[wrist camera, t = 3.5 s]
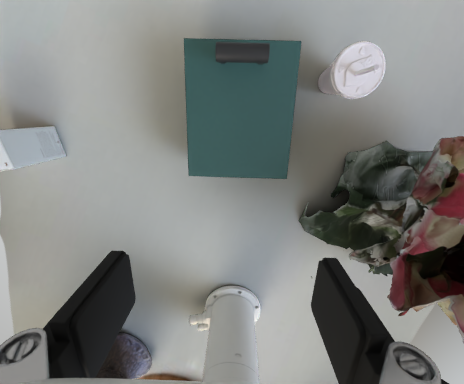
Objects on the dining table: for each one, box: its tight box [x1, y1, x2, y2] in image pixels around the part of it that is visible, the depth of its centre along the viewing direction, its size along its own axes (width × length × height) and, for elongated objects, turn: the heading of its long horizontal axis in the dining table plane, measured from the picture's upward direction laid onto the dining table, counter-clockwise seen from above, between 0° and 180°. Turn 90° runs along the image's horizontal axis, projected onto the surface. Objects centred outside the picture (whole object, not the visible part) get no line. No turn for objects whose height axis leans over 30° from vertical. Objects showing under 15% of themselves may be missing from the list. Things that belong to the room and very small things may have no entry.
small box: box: [0, 126, 66, 171], centre depth 37 cm, size 8×6×10 cm
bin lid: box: [184, 38, 301, 179], centre depth 28 cm, size 17×14×5 cm
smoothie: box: [318, 41, 386, 99], centre depth 31 cm, size 6×6×14 cm
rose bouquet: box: [299, 136, 464, 343], centre depth 29 cm, size 26×29×30 cm
